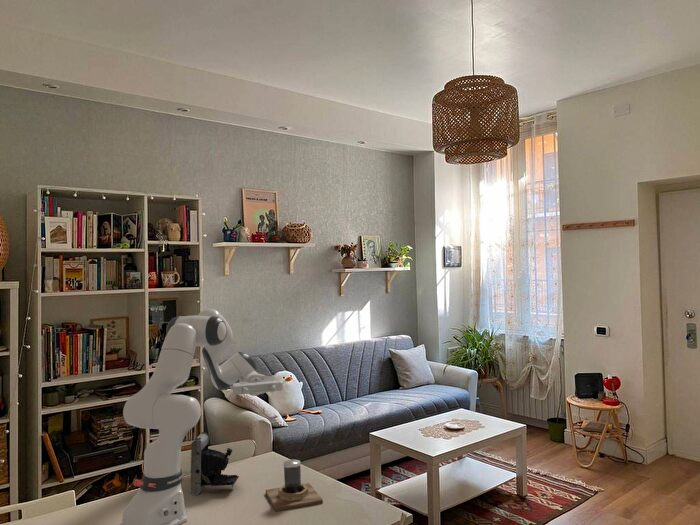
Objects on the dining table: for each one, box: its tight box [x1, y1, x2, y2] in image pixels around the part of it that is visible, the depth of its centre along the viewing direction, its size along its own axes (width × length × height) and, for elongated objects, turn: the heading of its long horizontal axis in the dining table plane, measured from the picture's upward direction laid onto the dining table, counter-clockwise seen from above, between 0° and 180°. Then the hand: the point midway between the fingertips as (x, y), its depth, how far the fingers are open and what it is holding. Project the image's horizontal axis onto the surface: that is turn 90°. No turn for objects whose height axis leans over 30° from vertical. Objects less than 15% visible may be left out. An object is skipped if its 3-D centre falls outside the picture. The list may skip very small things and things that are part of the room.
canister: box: [283, 458, 302, 494], centre depth 185 cm, size 6×6×11 cm
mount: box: [265, 482, 324, 512], centre depth 184 cm, size 16×16×3 cm
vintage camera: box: [190, 431, 240, 496], centre depth 193 cm, size 10×16×20 cm, turn 89°
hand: (261, 390), depth 210 cm, fingers open, 8 cm apart
